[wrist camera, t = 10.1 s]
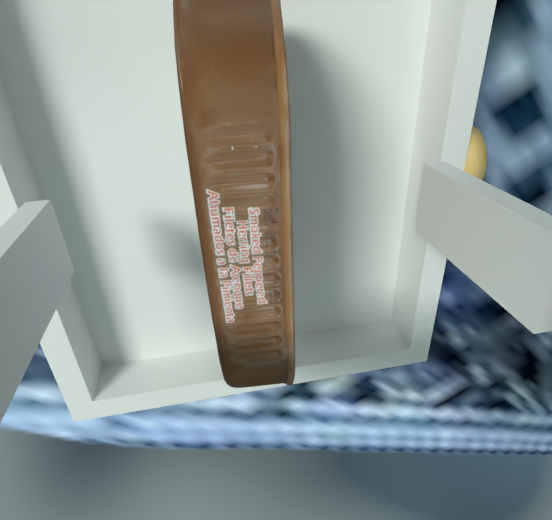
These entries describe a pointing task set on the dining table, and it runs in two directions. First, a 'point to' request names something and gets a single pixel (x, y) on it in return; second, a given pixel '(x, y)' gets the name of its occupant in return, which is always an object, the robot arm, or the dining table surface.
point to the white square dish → (179, 195)
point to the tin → (241, 179)
